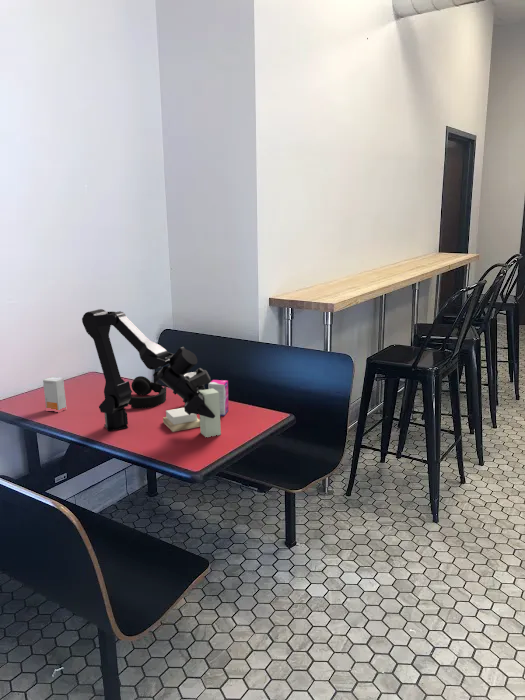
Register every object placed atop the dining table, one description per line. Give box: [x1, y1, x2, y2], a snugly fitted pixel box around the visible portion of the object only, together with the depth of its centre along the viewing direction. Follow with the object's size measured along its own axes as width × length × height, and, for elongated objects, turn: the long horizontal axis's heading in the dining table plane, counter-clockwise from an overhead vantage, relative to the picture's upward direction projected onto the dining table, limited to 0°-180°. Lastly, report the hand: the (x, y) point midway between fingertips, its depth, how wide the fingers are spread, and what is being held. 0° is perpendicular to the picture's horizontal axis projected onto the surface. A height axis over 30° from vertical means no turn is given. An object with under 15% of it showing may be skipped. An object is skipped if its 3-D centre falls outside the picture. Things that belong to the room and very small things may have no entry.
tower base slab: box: [162, 416, 200, 433], centre depth 195 cm, size 10×10×2 cm
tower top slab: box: [165, 407, 198, 425], centre depth 194 cm, size 8×8×2 cm
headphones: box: [128, 375, 167, 410], centre depth 221 cm, size 18×8×20 cm
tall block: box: [198, 388, 222, 438], centre depth 184 cm, size 5×5×14 cm
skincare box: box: [42, 376, 67, 410], centre depth 212 cm, size 6×4×12 cm
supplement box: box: [207, 379, 229, 417], centre depth 204 cm, size 6×6×12 cm
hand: (214, 413), depth 185 cm, fingers closed on tall block, 6 cm apart
